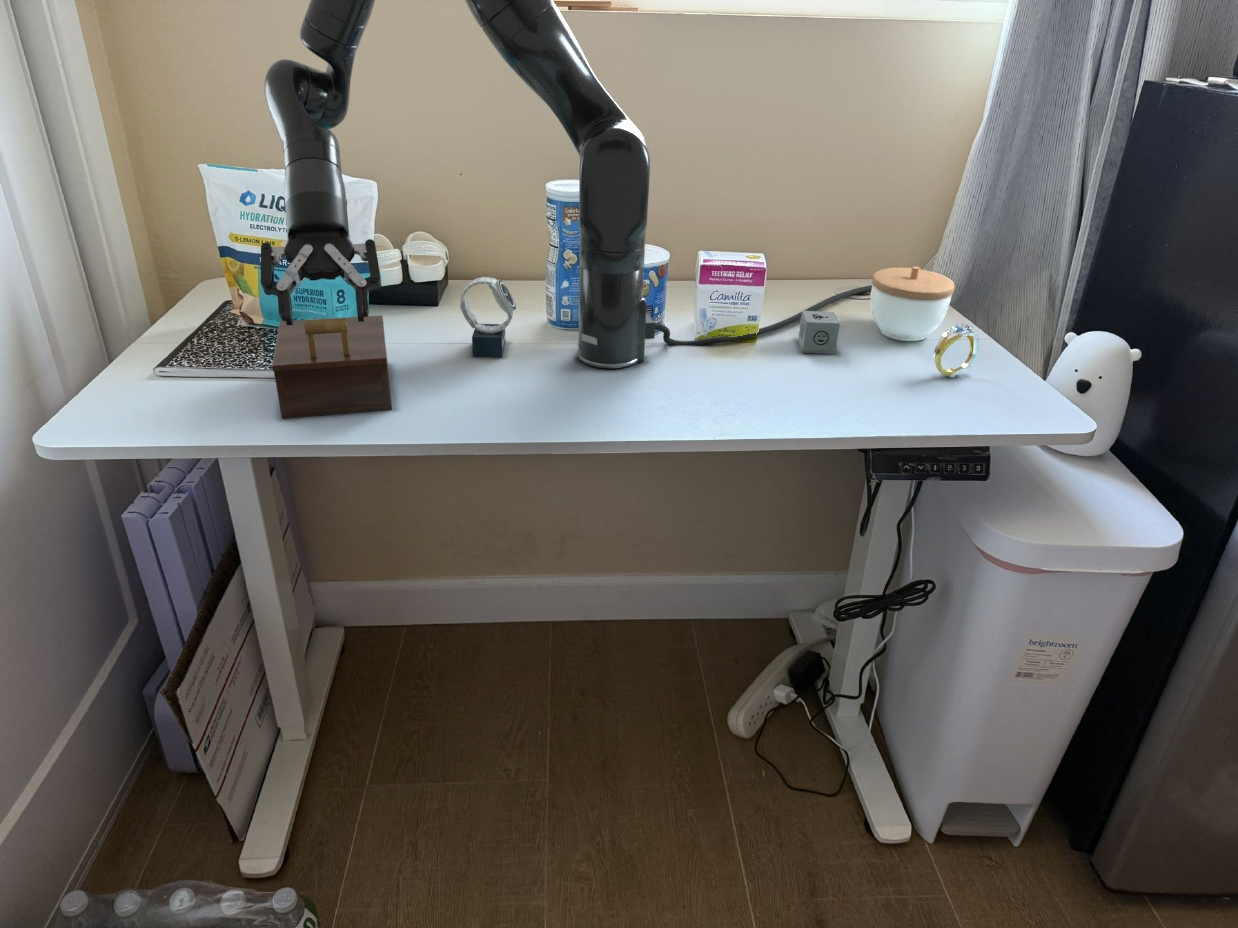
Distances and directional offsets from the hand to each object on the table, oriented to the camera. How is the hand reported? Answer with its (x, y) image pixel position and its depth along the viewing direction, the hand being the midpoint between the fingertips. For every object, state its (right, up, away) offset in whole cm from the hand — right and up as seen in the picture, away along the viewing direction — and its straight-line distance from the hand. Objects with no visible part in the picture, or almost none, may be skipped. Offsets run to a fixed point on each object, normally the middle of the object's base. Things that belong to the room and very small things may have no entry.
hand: (325, 321), depth 111 cm
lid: (-1, -2, +7) cm, 7 cm away
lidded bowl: (+83, +4, +36) cm, 91 cm away
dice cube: (+67, 0, +29) cm, 74 cm away
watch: (+17, -1, +24) cm, 30 cm away
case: (-2, -8, +10) cm, 13 cm away
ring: (+85, -5, +21) cm, 88 cm away
